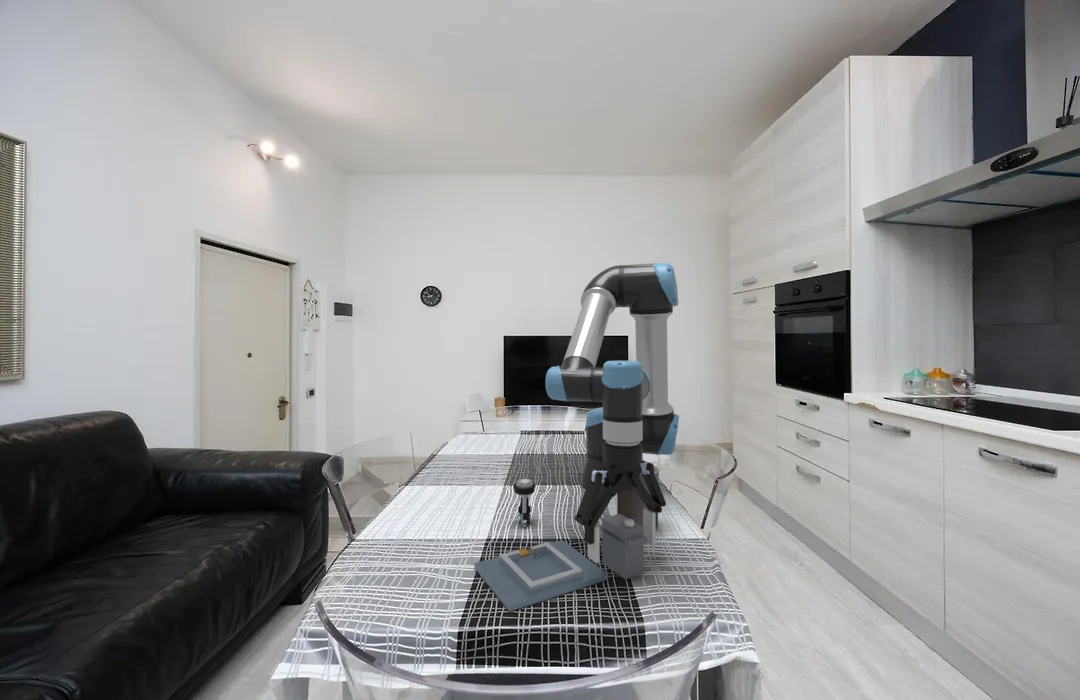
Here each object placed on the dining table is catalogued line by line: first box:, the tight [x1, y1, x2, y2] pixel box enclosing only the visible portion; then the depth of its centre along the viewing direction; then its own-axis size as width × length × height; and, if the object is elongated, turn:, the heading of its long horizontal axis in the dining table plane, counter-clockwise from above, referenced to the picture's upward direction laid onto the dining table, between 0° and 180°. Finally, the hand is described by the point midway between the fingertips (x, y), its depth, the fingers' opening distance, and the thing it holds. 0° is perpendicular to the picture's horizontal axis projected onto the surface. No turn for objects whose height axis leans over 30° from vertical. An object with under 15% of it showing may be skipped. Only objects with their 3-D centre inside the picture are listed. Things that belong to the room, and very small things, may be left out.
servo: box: [598, 514, 648, 581], centre depth 88 cm, size 4×9×10 cm, turn 29°
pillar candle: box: [616, 463, 660, 531], centre depth 108 cm, size 10×10×15 cm
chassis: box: [473, 539, 609, 613], centre depth 86 cm, size 20×16×2 cm
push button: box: [512, 478, 536, 528], centre depth 109 cm, size 7×5×10 cm
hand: (622, 551), depth 88 cm, fingers open, 13 cm apart
